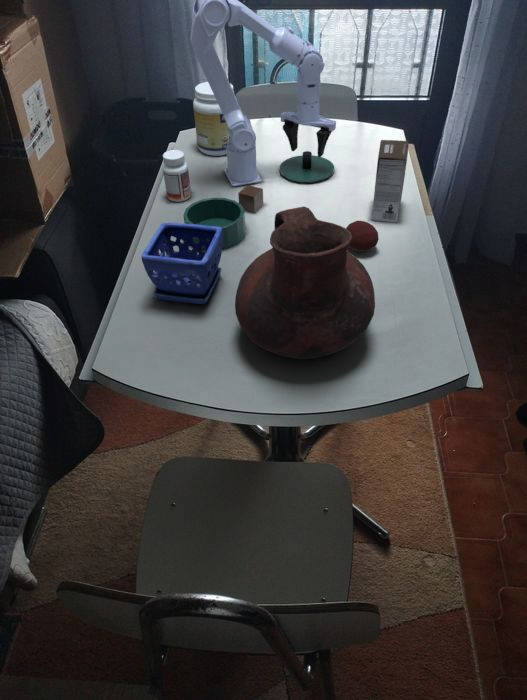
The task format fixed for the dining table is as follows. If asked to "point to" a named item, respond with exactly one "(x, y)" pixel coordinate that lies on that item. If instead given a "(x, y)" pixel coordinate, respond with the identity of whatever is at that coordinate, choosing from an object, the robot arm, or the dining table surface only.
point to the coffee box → (389, 180)
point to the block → (251, 198)
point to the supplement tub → (209, 122)
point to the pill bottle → (176, 176)
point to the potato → (362, 236)
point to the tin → (218, 218)
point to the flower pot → (184, 262)
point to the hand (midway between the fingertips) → (307, 152)
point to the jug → (305, 290)
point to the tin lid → (306, 168)
